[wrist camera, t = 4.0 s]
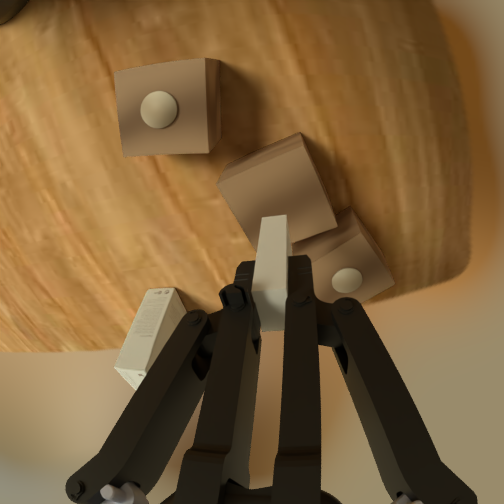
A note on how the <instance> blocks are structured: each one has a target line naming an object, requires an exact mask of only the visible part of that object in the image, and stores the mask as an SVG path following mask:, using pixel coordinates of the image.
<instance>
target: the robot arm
mask: <svg viewBox="0 0 504 504" xmlns="http://www.w3.org/2000/svg"><path fill="white" fill-rule="evenodd" d="M28 1H29V0H0V25H1V24H3V23H5V22H7V21H8V20H10V19H11V18H12V17H13V16H15V15H16V14H17V13H18V12H19V11H20V10H21V9H22V8H23V7H24V5H25V4H26V3H27V2H28ZM235 275H236V276H235V279H234V283H233V284H229V285H227V286H225V287H224V288H223V289H221V291H220V292H219V296H220V299H221V302H222V304H223V309H221V310H220V311H217V312H214V313H211V314H208V315H207V313H206V312H205V311H203V310H192V311H189V312H188V313H186V314H185V315H184V316H183V317H182V319H181V320H180V322H179V323H178V325H177V327H176V328H175V330H174V331H173V333H172V334H171V336H170V338H169V339H168V341H167V342H166V344H165V345H164V347H163V349H162V350H161V352H160V353H159V355H158V356H157V358H156V360H155V361H154V363H153V364H152V366H151V368H150V369H149V371H148V372H147V374H146V376H145V377H144V379H143V380H142V382H141V384H140V385H139V387H138V389H137V390H136V392H135V393H134V395H133V397H132V398H131V400H130V402H129V403H128V405H127V406H126V408H125V410H124V411H123V413H122V415H121V417H120V418H119V420H118V421H117V423H116V425H115V426H114V428H113V430H112V431H111V433H110V435H109V436H108V438H107V440H106V441H105V443H104V445H103V446H102V448H101V450H100V451H99V453H98V454H97V455H96V456H94V457H93V458H92V459H91V460H90V461H89V462H87V463H86V464H85V465H84V466H83V467H81V468H80V469H79V470H78V471H77V472H75V473H74V474H73V475H72V476H70V478H69V479H68V480H67V483H66V493H67V495H68V497H69V499H70V500H71V501H73V502H75V503H77V504H149V502H148V500H147V499H146V495H147V494H148V493H149V492H150V491H151V490H152V488H153V487H154V486H155V484H156V483H157V481H158V480H159V478H160V476H161V475H162V473H163V471H164V469H165V467H166V465H167V463H168V461H169V460H170V458H171V456H172V454H173V452H174V450H175V448H176V446H177V444H178V442H179V440H180V438H181V436H182V434H183V432H184V430H185V428H186V426H187V424H188V422H189V420H190V418H191V416H192V414H193V413H194V410H195V408H196V406H197V404H198V403H199V401H200V399H201V397H202V394H203V392H204V391H205V392H204V396H203V401H202V406H201V410H200V415H199V419H198V424H197V429H196V434H195V438H194V443H193V446H192V447H191V448H190V449H188V450H187V451H186V453H185V454H184V457H183V460H182V465H181V470H180V474H179V479H178V484H177V489H176V491H175V492H174V493H173V494H171V495H170V496H169V497H168V498H166V499H165V500H164V501H163V502H161V503H160V504H342V503H341V502H340V501H339V500H338V499H337V498H335V497H334V496H333V495H331V494H329V493H327V492H325V491H323V490H321V400H320V399H321V398H320V372H319V352H318V345H323V346H329V347H332V350H333V352H334V355H335V357H336V360H337V362H338V365H339V367H340V370H341V372H342V375H343V377H344V379H345V382H346V385H347V387H348V390H349V392H350V395H351V397H352V400H353V402H354V405H355V408H356V410H357V413H358V415H359V418H360V421H361V423H362V426H363V428H364V431H365V434H366V437H367V439H368V442H369V445H370V447H371V450H372V453H373V456H374V459H375V461H376V464H377V467H378V470H379V473H380V476H381V478H382V481H383V483H384V486H385V488H386V490H387V492H388V494H389V495H390V497H391V498H392V500H393V502H392V503H391V504H478V503H477V496H476V495H475V493H474V491H472V490H471V489H470V488H469V487H468V486H467V485H466V484H465V483H464V482H463V481H462V480H461V479H460V478H458V477H457V476H456V475H455V474H454V473H453V472H452V471H451V470H450V469H449V468H448V467H447V466H446V465H445V464H444V463H443V462H441V460H440V458H439V456H438V453H437V451H436V448H435V446H434V444H433V442H432V440H431V437H430V435H429V433H428V431H427V429H426V427H425V424H424V422H423V420H422V418H421V416H420V414H419V412H418V410H417V408H416V405H415V404H414V402H413V399H412V397H411V395H410V393H409V391H408V389H407V387H406V386H405V383H404V382H403V380H402V378H401V376H400V374H399V372H398V370H397V368H396V367H395V364H394V362H393V361H392V359H391V357H390V355H389V353H388V351H387V350H386V348H385V346H384V344H383V342H382V340H381V339H380V337H379V335H378V333H377V331H376V330H375V328H374V326H373V324H372V323H371V321H370V319H369V317H368V316H367V314H366V312H365V310H364V309H363V307H362V305H361V304H360V302H359V301H358V300H356V299H354V298H351V297H343V298H339V299H337V300H336V301H335V302H334V303H327V302H323V301H321V300H319V299H318V298H317V297H316V295H315V293H314V284H313V274H312V264H311V259H310V258H309V257H308V255H307V254H306V255H296V256H292V248H291V241H290V235H289V228H288V222H287V215H278V216H270V217H262V221H261V228H260V235H259V241H258V248H257V255H256V260H254V261H244V262H241V263H240V265H239V266H238V267H237V270H236V274H235ZM260 327H261V329H262V332H265V331H281V330H284V356H283V357H284V358H283V380H282V398H281V415H280V431H279V446H278V453H277V455H276V458H275V464H274V475H273V486H270V487H265V488H259V489H252V490H251V489H249V483H250V474H249V468H248V466H249V456H250V448H251V447H250V446H251V439H252V430H253V421H254V411H255V402H256V392H257V382H258V372H259V362H260V351H261V341H262V340H261V335H260Z"/></svg>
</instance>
